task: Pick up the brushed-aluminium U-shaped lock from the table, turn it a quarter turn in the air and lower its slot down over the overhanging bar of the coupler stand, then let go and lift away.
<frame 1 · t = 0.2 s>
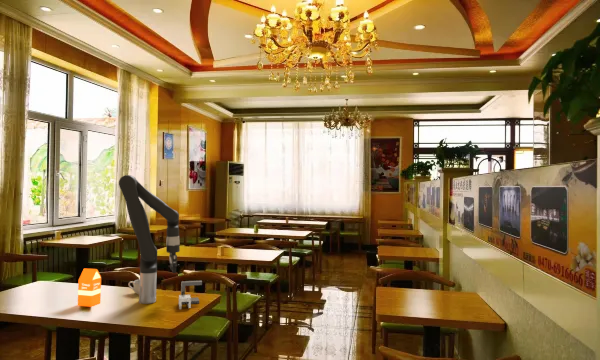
hand: (173, 271, 251), 17 cm above the table, tool pointing down, fingers open, 8 cm apart
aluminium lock: (184, 307, 238), on the table
teacup: (139, 293, 266), on the table
coupler stand: (189, 302, 248), on the table
orange juice: (89, 304, 239), on the table
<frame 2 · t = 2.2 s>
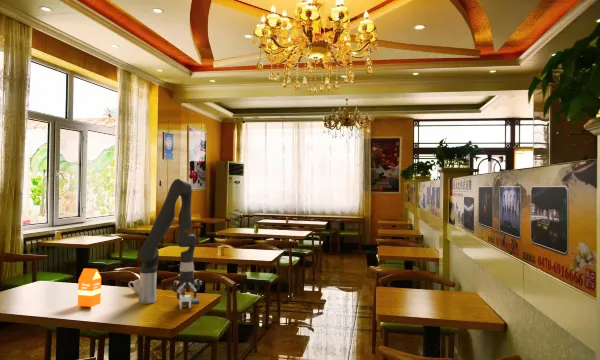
hand: (186, 298, 239), 4 cm above the table, tool pointing down, fingers open, 8 cm apart
nothing on the table moved.
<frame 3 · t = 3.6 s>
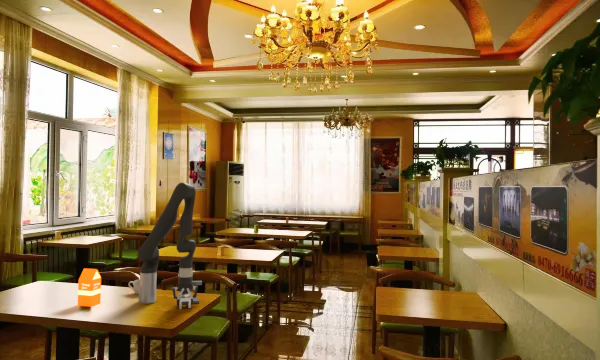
hand: (184, 305, 238), 1 cm above the table, tool pointing down, fingers closed on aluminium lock, 6 cm apart
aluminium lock: (184, 306, 238), on the table, touching gripper
everything else where it was.
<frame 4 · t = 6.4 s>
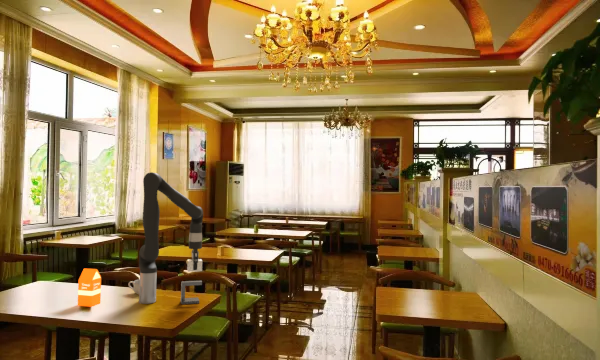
hand: (194, 268, 249), 19 cm above the table, tool pointing down, fingers closed on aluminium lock, 6 cm apart
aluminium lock: (194, 270, 249), point 18 cm above the table, touching gripper
everything else where it was.
when the fingers open (10 cm above the table, at t = 9.5 s): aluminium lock stays where it is, resting on coupler stand.
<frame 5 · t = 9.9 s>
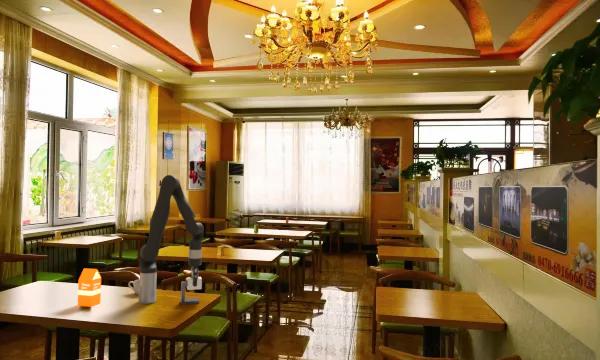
hand: (194, 284, 249), 10 cm above the table, tool pointing down, fingers open, 8 cm apart
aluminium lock: (194, 288, 249), point 8 cm above the table, touching coupler stand
everything else where it was.
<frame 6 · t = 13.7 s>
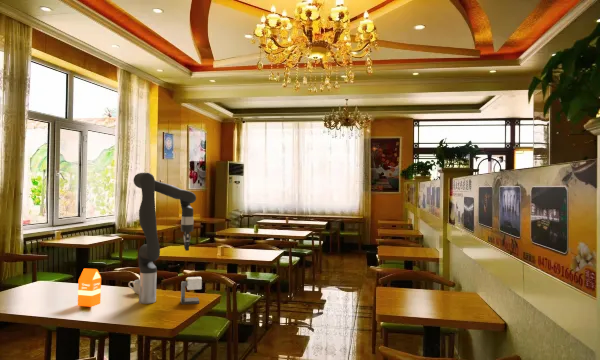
hand: (186, 249, 266), 28 cm above the table, tool pointing down, fingers open, 8 cm apart
nothing on the table moved.
at the end: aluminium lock 0.2 cm from the target spot on the coupler stand, point 8.0 cm above the coupler stand's base; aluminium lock tilted 0°; the gripper is holding nothing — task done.
